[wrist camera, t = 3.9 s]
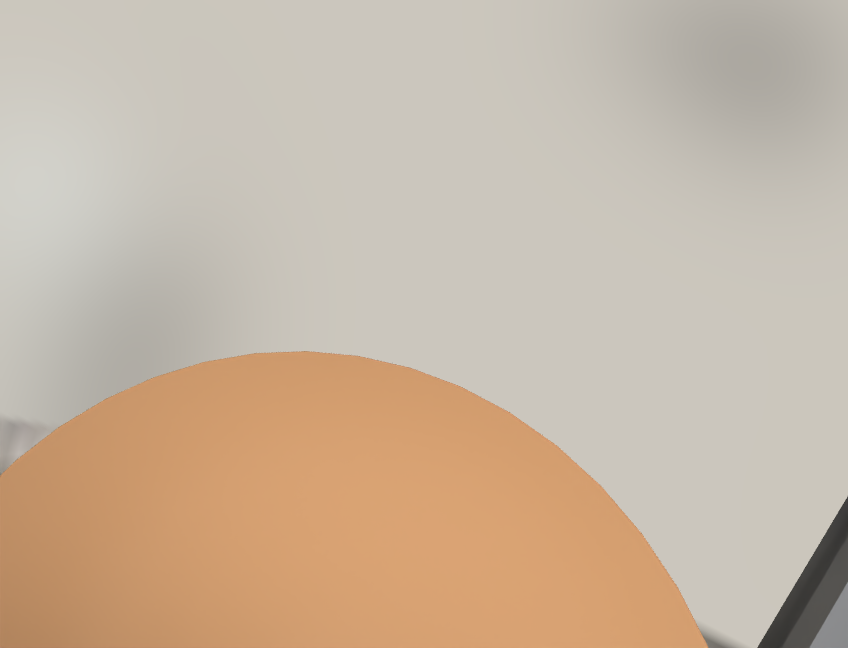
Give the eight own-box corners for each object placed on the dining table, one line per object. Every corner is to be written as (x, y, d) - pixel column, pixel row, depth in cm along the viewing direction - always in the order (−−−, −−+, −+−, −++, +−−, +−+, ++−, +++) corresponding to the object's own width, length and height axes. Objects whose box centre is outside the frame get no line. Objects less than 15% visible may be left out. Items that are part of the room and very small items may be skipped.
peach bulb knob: (357, 706, 16) (-194, 1573, 3) (319, 487, 17) (-174, 452, 4) (571, 660, 15) (932, 1369, 3) (516, 442, 17) (597, 268, 4)
